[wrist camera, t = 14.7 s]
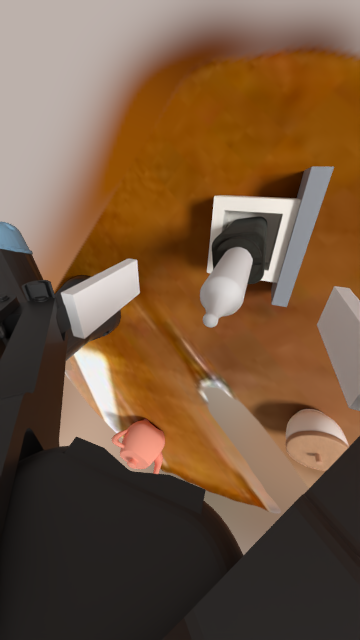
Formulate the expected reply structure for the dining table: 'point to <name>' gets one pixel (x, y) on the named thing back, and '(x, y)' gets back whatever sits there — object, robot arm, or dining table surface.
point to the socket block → (271, 208)
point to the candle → (234, 267)
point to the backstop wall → (301, 230)
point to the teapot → (141, 445)
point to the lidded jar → (314, 439)
